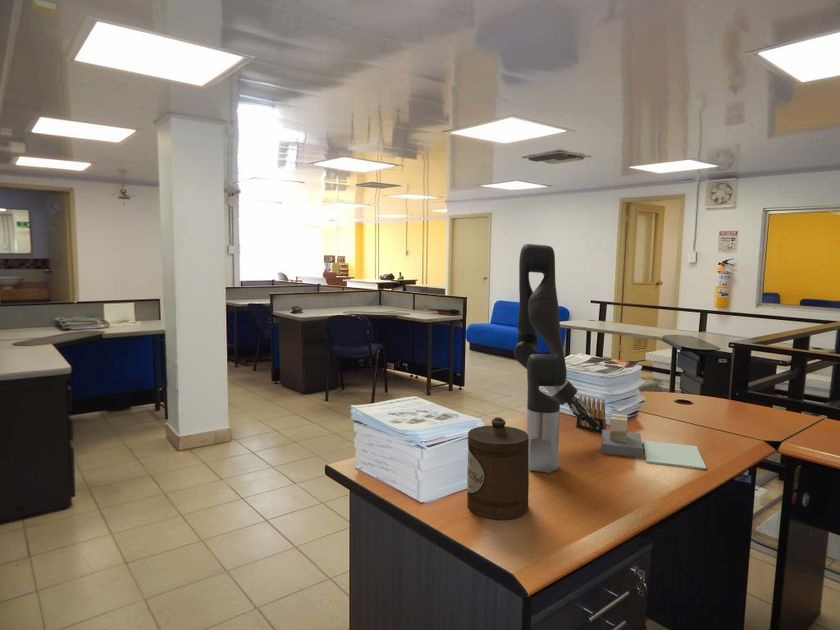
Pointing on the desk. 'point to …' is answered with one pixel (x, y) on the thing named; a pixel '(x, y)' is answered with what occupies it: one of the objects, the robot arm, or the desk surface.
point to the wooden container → (498, 471)
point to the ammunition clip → (593, 415)
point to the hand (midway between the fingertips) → (596, 427)
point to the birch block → (618, 427)
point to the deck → (622, 445)
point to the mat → (673, 455)
